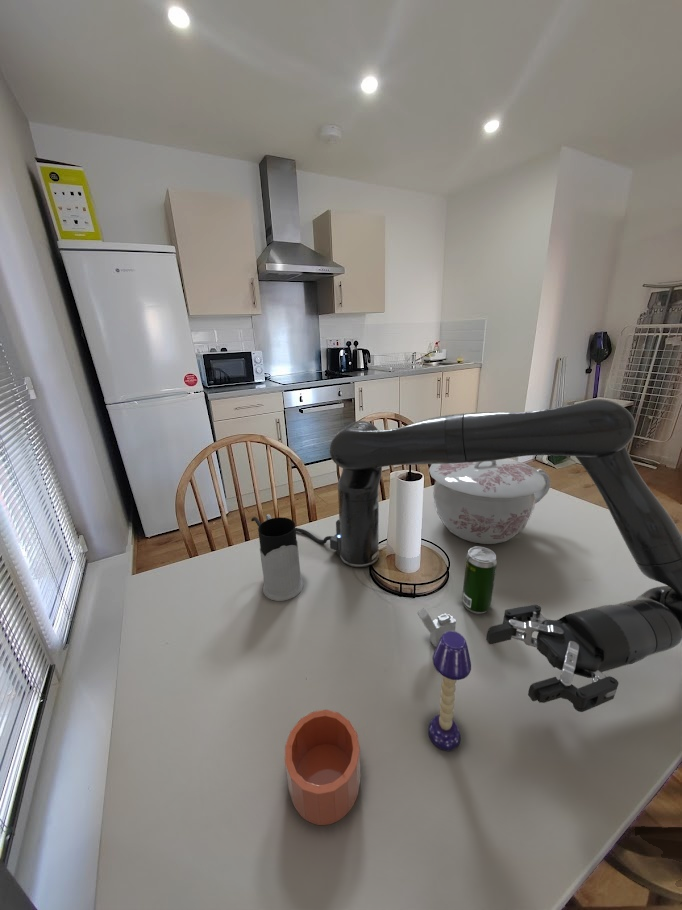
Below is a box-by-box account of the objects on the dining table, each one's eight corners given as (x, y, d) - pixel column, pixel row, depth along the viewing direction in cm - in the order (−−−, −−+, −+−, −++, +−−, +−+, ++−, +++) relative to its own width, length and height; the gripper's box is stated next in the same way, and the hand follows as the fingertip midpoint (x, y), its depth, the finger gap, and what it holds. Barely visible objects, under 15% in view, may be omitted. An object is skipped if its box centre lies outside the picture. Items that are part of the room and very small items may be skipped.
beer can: (478, 619, 67) (485, 567, 63) (455, 602, 71) (460, 552, 67) (496, 607, 70) (503, 556, 66) (473, 591, 74) (478, 542, 70)
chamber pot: (409, 538, 93) (412, 465, 86) (445, 496, 114) (450, 435, 107) (527, 576, 78) (542, 491, 71) (544, 520, 99) (557, 450, 92)
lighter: (448, 632, 65) (451, 597, 62) (454, 639, 63) (458, 604, 60) (414, 645, 62) (416, 609, 60) (420, 653, 61) (422, 616, 58)
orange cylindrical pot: (274, 788, 44) (269, 757, 42) (320, 726, 50) (318, 696, 48) (330, 846, 39) (327, 814, 37) (373, 769, 45) (373, 738, 43)
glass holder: (268, 606, 72) (259, 543, 67) (254, 566, 84) (246, 510, 79) (308, 592, 75) (304, 531, 70) (289, 556, 88) (284, 501, 82)
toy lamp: (423, 715, 51) (429, 626, 45) (454, 712, 52) (464, 623, 46) (434, 753, 47) (442, 659, 41) (468, 749, 47) (481, 655, 41)
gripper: (569, 582, 56) (478, 603, 53) (666, 659, 43) (554, 693, 40) (560, 619, 59) (473, 641, 55) (649, 702, 46) (543, 738, 42)
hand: (507, 663), depth 47 cm, fingers open, 8 cm apart
